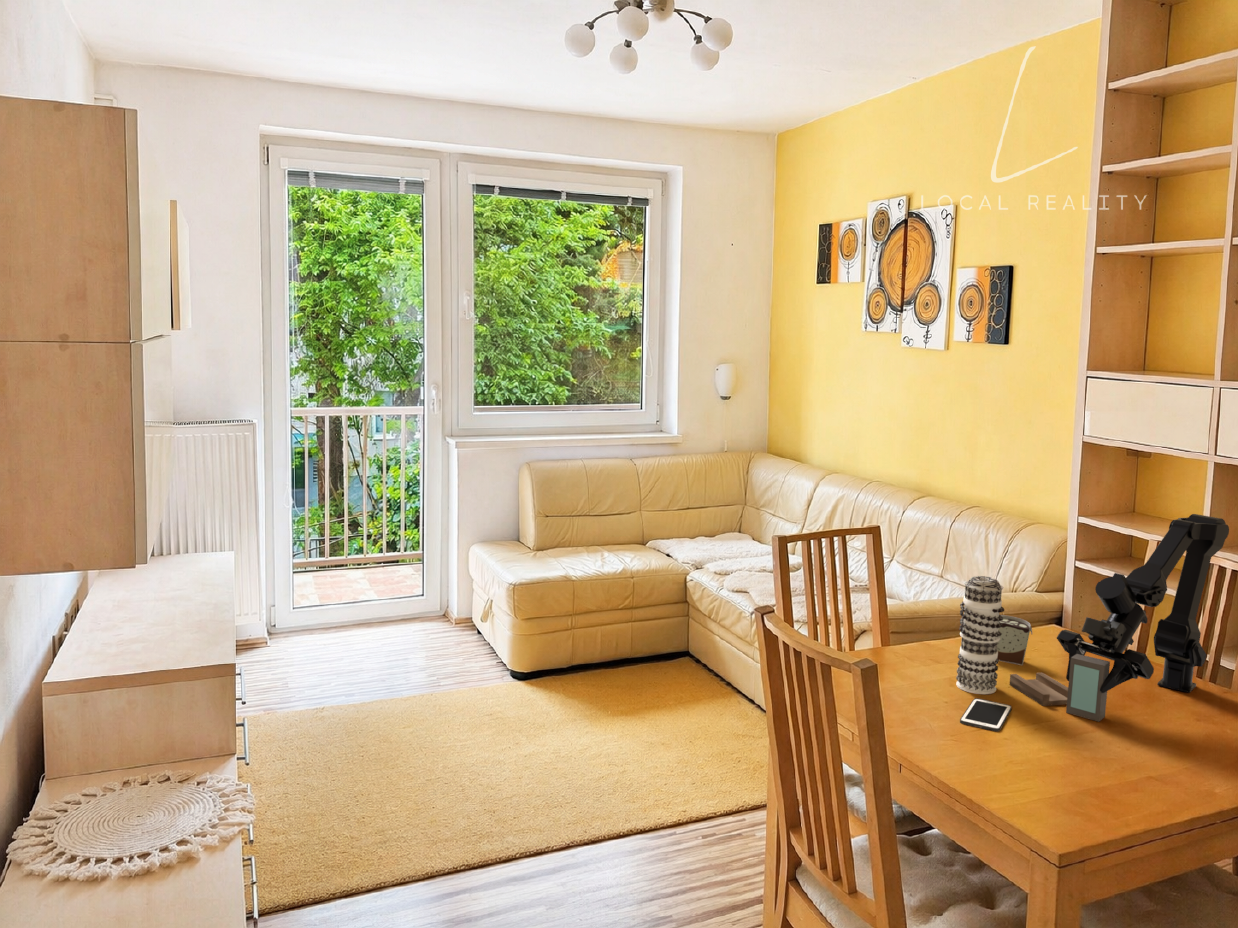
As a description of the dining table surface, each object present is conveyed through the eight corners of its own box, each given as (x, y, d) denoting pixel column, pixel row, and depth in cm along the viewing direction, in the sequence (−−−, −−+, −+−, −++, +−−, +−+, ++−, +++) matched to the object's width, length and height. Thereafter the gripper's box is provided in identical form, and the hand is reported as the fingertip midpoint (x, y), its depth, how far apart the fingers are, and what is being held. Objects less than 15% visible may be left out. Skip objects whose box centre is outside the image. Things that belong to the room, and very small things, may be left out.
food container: (1033, 659, 228) (1037, 619, 227) (1029, 666, 223) (1032, 626, 221) (980, 649, 235) (983, 610, 233) (975, 656, 229) (978, 617, 228)
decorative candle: (987, 679, 214) (995, 573, 211) (1005, 695, 205) (1014, 584, 201) (948, 679, 214) (955, 573, 210) (964, 694, 205) (972, 584, 201)
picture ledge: (1041, 682, 212) (1042, 672, 212) (1076, 703, 201) (1077, 692, 200) (1009, 684, 211) (1010, 674, 211) (1042, 705, 199) (1043, 694, 199)
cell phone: (958, 724, 190) (958, 720, 190) (974, 701, 202) (974, 697, 202) (998, 733, 186) (999, 729, 186) (1012, 709, 198) (1012, 705, 198)
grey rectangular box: (1071, 707, 198) (1076, 653, 197) (1104, 716, 194) (1110, 661, 192) (1065, 712, 196) (1070, 657, 194) (1098, 721, 191) (1104, 665, 190)
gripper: (1065, 592, 202) (1028, 650, 198) (1151, 616, 186) (1113, 678, 182) (1084, 622, 207) (1049, 679, 203) (1169, 647, 191) (1133, 709, 187)
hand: (1084, 685), depth 193 cm, fingers closed on grey rectangular box, 7 cm apart
